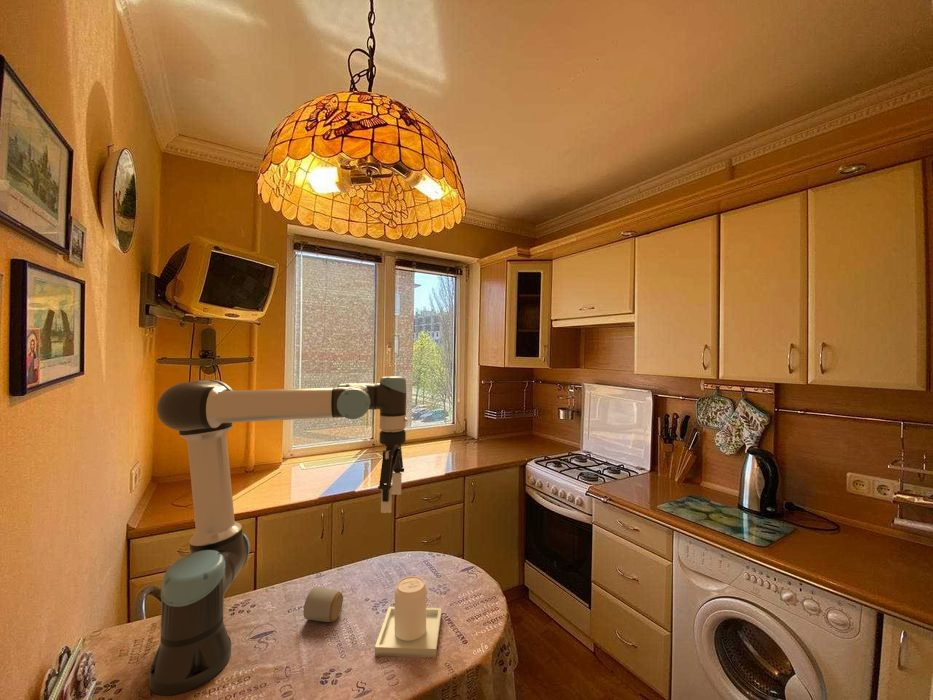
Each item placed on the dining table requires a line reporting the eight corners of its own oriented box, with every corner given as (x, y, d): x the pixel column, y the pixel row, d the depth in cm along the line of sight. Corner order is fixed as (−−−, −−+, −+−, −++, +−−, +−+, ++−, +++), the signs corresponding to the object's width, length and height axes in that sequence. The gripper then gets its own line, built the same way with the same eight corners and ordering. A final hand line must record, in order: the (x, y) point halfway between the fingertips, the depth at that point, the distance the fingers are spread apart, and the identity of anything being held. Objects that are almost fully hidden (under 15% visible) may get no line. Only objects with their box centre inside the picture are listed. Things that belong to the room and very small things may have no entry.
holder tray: (374, 655, 90) (374, 647, 90) (388, 613, 104) (389, 606, 104) (435, 657, 89) (435, 648, 89) (441, 615, 104) (441, 608, 104)
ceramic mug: (331, 629, 98) (332, 599, 98) (302, 626, 99) (303, 596, 99) (349, 604, 108) (350, 576, 109) (322, 601, 110) (323, 574, 110)
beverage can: (390, 626, 98) (391, 579, 99) (420, 617, 102) (420, 572, 102) (399, 647, 91) (400, 597, 92) (430, 636, 95) (431, 588, 95)
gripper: (396, 438, 97) (395, 521, 97) (412, 422, 122) (411, 488, 122) (367, 438, 97) (366, 520, 97) (389, 421, 122) (388, 487, 122)
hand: (391, 502), depth 109 cm, fingers open, 13 cm apart
